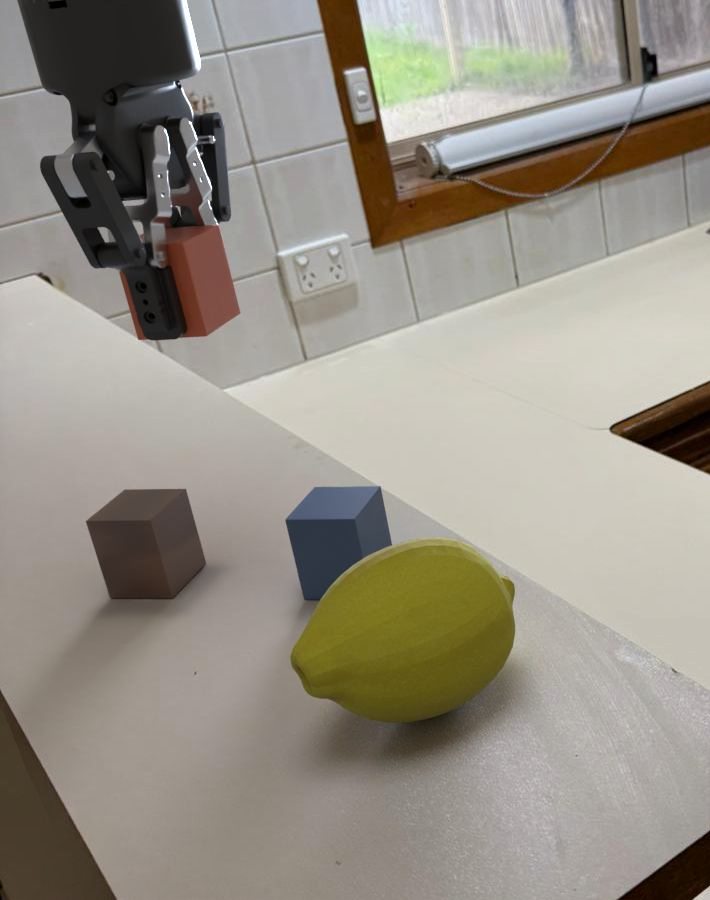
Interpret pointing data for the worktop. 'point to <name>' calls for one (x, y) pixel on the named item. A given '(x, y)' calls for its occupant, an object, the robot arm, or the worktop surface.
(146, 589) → the walnut block
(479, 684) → the lemon
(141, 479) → the worktop surface
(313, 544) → the slate block
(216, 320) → the terracotta block
